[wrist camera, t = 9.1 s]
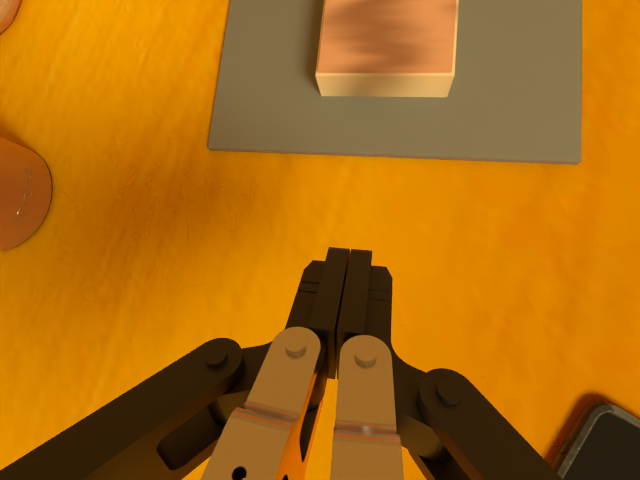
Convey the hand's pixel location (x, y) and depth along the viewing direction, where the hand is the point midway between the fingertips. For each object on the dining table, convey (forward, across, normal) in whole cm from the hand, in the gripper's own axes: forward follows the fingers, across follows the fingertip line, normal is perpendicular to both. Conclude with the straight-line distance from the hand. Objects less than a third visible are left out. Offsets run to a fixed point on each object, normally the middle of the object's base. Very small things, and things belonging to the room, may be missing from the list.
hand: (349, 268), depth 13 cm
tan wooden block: (+17, 0, -2) cm, 17 cm away
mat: (+21, 0, -3) cm, 21 cm away
